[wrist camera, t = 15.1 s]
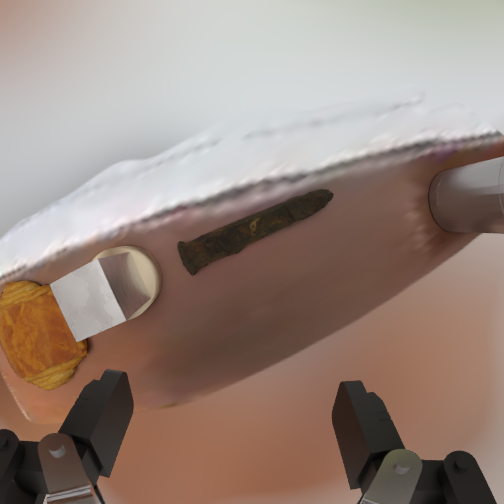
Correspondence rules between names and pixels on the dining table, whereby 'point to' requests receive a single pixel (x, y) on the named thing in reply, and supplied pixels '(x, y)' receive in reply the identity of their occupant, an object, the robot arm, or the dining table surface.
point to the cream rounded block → (141, 271)
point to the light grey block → (100, 294)
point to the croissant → (37, 335)
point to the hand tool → (249, 230)
